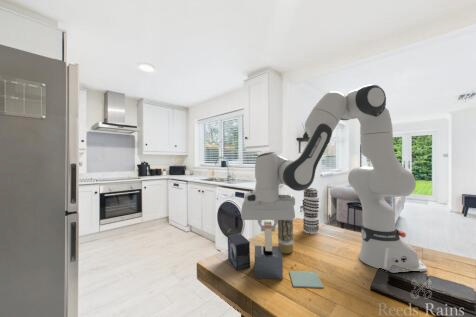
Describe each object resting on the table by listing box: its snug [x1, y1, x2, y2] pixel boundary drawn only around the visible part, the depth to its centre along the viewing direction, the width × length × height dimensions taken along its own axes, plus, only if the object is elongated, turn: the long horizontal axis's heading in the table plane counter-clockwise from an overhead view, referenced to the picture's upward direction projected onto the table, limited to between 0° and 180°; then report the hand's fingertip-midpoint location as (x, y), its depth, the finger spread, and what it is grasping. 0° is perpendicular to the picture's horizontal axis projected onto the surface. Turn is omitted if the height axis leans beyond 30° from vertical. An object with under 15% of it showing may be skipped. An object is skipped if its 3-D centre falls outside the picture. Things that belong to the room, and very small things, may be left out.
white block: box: [263, 220, 273, 251], centre depth 79 cm, size 3×5×10 cm, turn 174°
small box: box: [227, 232, 251, 272], centre depth 87 cm, size 11×6×10 cm, turn 22°
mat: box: [288, 270, 324, 289], centre depth 74 cm, size 10×9×1 cm
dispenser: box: [254, 245, 284, 280], centre depth 79 cm, size 10×9×8 cm
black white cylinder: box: [302, 187, 320, 235], centre depth 121 cm, size 9×9×25 cm
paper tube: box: [277, 197, 294, 255], centre depth 96 cm, size 7×7×25 cm
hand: (268, 230), depth 79 cm, fingers closed on white block, 2 cm apart
